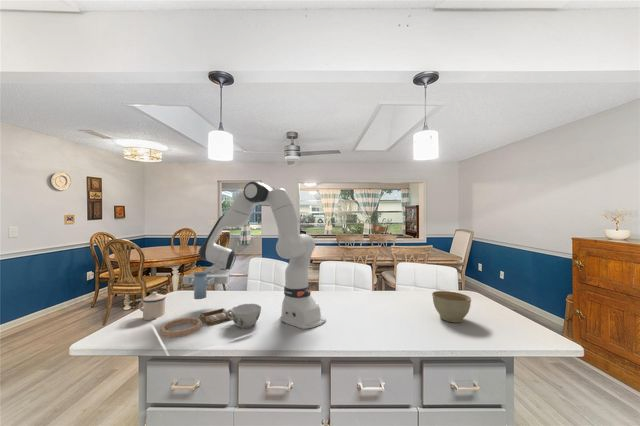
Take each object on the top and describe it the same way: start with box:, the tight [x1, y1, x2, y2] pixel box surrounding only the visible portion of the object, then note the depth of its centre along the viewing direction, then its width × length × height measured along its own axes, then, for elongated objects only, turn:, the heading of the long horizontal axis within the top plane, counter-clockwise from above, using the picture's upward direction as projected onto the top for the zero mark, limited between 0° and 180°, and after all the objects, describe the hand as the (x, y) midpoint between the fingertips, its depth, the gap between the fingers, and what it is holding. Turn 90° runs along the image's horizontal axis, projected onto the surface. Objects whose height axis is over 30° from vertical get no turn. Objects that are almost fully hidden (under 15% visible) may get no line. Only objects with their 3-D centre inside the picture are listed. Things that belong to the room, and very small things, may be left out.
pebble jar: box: [193, 270, 208, 300], centre depth 111 cm, size 5×5×11 cm
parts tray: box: [199, 308, 232, 326], centre depth 114 cm, size 13×11×2 cm
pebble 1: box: [209, 315, 217, 321], centre depth 110 cm, size 3×3×3 cm
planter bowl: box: [431, 290, 472, 323], centre depth 116 cm, size 16×16×11 cm
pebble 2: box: [219, 313, 226, 319], centre depth 112 cm, size 3×3×3 cm
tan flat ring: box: [160, 316, 202, 338], centre depth 103 cm, size 14×14×3 cm
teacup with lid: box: [138, 291, 167, 321], centre depth 118 cm, size 12×9×12 cm
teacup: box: [227, 303, 262, 329], centre depth 107 cm, size 15×12×8 cm
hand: (199, 283), depth 110 cm, fingers closed on pebble jar, 5 cm apart
